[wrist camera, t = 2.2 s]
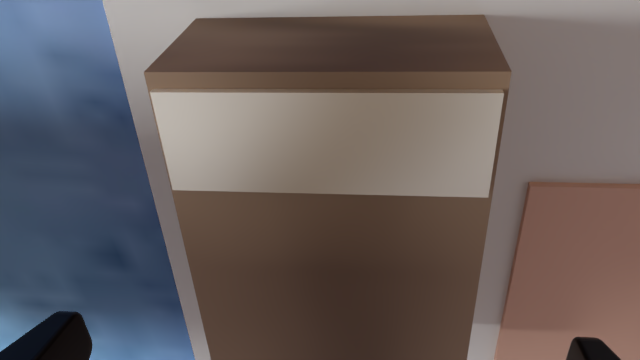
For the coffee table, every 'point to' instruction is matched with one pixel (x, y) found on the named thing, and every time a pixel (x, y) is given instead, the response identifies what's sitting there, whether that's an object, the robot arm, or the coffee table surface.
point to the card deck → (333, 180)
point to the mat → (512, 168)
